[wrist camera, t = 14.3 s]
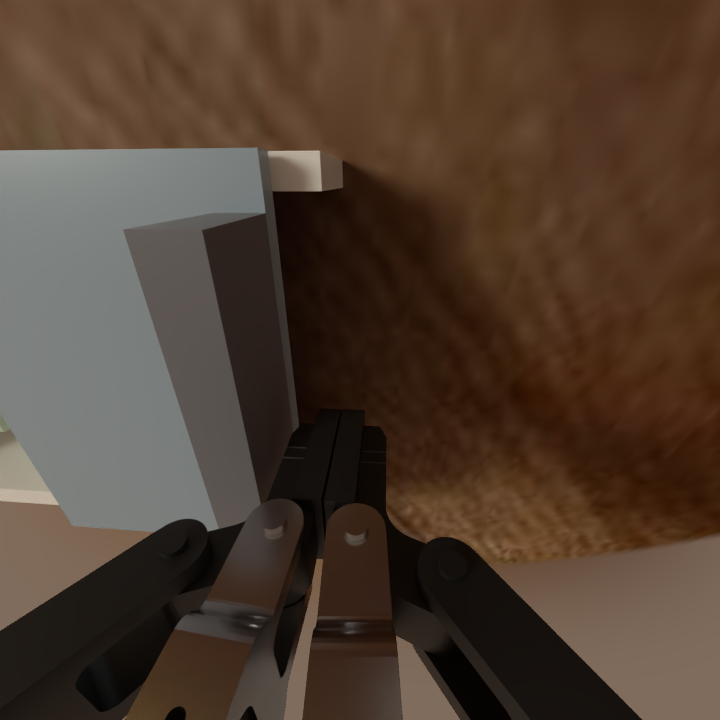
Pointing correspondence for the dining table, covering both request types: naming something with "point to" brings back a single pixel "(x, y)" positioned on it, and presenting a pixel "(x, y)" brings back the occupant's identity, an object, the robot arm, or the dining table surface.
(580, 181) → the dining table surface
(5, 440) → the housing
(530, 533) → the dining table surface
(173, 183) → the lid
